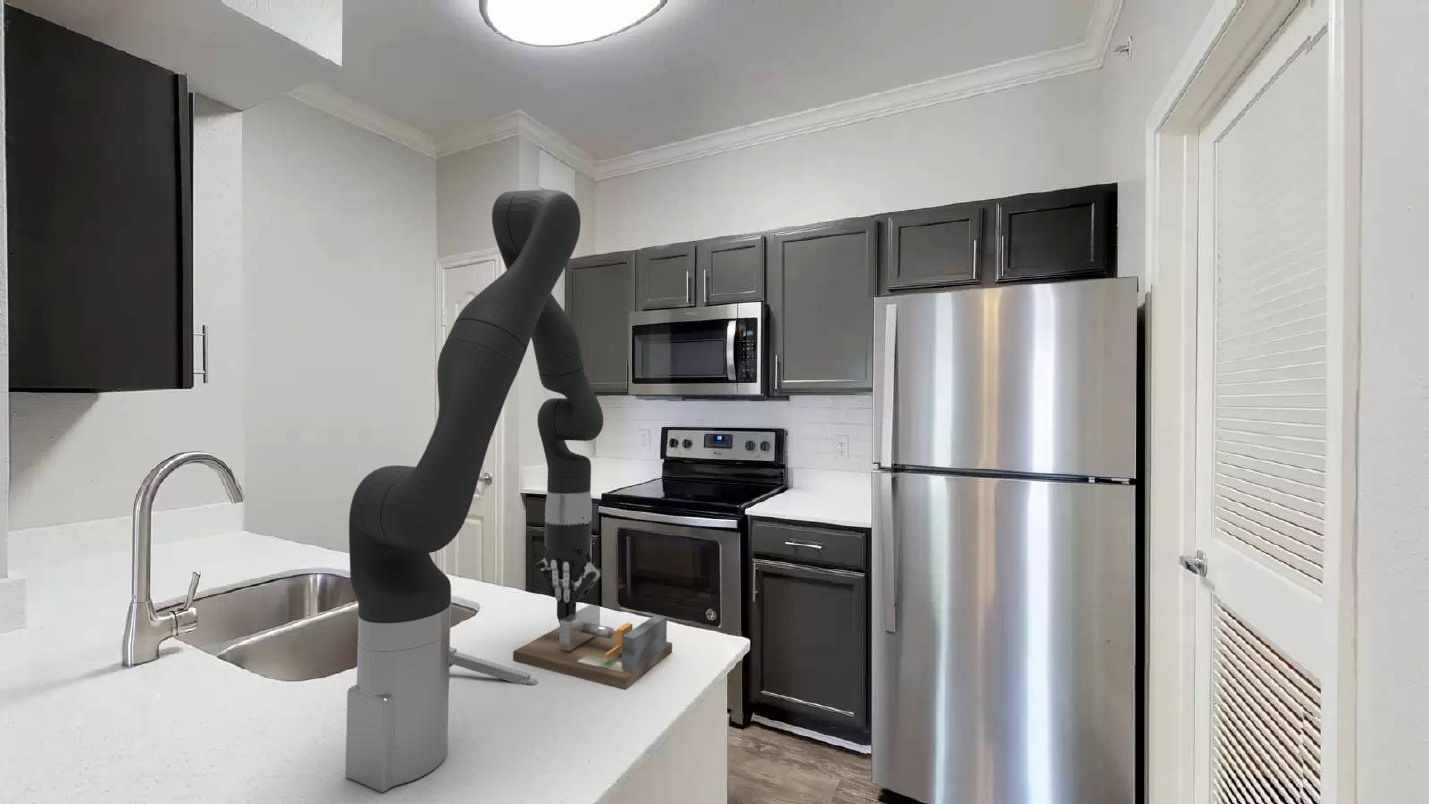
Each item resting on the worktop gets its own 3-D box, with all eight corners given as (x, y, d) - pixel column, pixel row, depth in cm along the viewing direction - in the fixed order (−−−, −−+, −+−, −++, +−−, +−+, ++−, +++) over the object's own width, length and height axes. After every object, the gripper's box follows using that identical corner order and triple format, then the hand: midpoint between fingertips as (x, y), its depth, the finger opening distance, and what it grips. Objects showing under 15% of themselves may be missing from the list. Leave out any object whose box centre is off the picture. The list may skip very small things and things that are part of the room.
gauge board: (625, 689, 82) (626, 643, 82) (513, 660, 90) (513, 619, 90) (671, 651, 95) (672, 612, 95) (569, 629, 103) (570, 593, 103)
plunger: (595, 657, 88) (596, 627, 88) (559, 648, 90) (559, 620, 90) (624, 638, 95) (624, 611, 95) (589, 630, 98) (590, 604, 98)
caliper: (407, 674, 86) (408, 632, 86) (412, 671, 87) (413, 630, 87) (534, 687, 83) (535, 643, 83) (538, 683, 84) (539, 640, 84)
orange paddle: (608, 659, 85) (609, 638, 85) (603, 657, 86) (603, 637, 86) (632, 643, 91) (632, 623, 91) (626, 641, 92) (627, 622, 92)
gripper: (521, 518, 94) (519, 623, 94) (587, 526, 89) (584, 637, 89) (552, 510, 101) (550, 609, 101) (614, 518, 96) (612, 621, 96)
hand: (566, 622), depth 95 cm, fingers closed
